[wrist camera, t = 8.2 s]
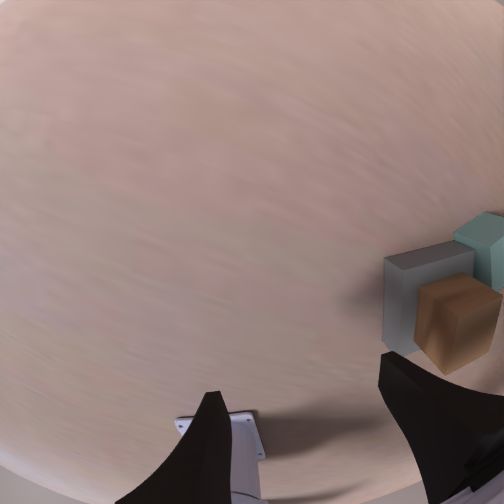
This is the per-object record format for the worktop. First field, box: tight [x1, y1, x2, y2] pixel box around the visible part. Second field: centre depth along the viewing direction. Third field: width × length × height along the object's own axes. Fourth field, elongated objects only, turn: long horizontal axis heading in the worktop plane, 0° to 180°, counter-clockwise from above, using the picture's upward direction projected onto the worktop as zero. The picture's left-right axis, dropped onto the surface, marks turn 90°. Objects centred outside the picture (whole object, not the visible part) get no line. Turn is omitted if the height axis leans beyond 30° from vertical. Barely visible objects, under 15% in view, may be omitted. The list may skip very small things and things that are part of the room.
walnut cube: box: [413, 272, 503, 375], centre depth 17 cm, size 5×5×5 cm
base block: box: [382, 241, 475, 356], centre depth 20 cm, size 8×8×3 cm
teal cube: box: [454, 212, 504, 292], centre depth 19 cm, size 5×5×5 cm
